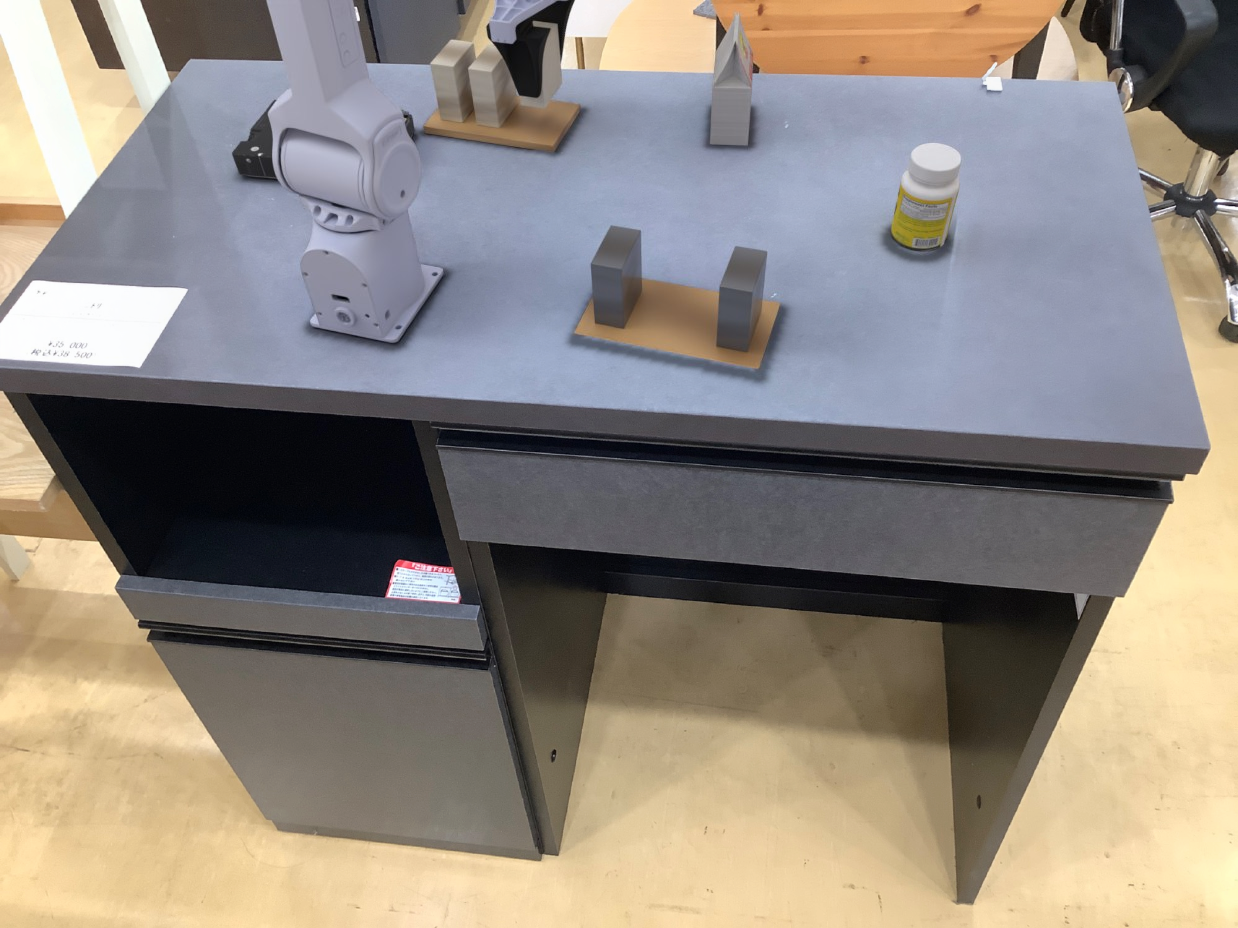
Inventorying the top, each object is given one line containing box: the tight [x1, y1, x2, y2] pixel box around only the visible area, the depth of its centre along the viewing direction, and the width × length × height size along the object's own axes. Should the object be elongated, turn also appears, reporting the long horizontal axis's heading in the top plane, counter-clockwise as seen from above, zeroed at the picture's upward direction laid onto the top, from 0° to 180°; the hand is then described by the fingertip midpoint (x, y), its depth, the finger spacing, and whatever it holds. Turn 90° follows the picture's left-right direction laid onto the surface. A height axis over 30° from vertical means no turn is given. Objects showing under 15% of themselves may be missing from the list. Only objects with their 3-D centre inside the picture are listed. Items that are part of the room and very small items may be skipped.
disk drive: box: [231, 99, 416, 179], centre depth 97 cm, size 10×3×15 cm
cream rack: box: [422, 39, 581, 153], centre depth 98 cm, size 8×14×7 cm, turn 72°
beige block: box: [520, 21, 563, 109], centre depth 94 cm, size 5×2×6 cm, turn 162°
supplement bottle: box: [890, 142, 962, 252], centre depth 82 cm, size 5×5×8 cm
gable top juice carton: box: [709, 10, 754, 146], centre depth 95 cm, size 4×7×10 cm, turn 174°
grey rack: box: [573, 224, 781, 370], centre depth 77 cm, size 8×15×7 cm, turn 72°
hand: (539, 81), depth 96 cm, fingers closed on beige block, 5 cm apart
